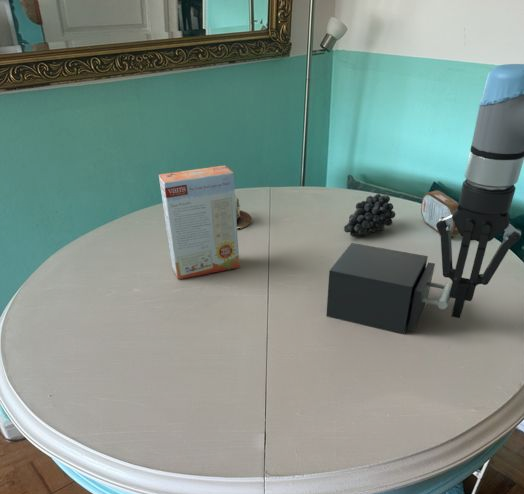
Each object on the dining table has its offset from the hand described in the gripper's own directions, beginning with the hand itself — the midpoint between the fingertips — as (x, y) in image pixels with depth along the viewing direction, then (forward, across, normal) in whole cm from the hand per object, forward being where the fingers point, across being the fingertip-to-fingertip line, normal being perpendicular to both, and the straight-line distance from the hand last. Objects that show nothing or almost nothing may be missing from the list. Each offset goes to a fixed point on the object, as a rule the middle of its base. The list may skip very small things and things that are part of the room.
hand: (456, 313), depth 92 cm
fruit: (+3, +27, -34) cm, 43 cm away
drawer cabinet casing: (+3, +15, 0) cm, 15 cm away
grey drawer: (+2, +11, 0) cm, 11 cm away
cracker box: (+3, +53, -1) cm, 53 cm away
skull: (+3, +61, -26) cm, 66 cm away
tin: (+3, +11, -42) cm, 43 cm away
